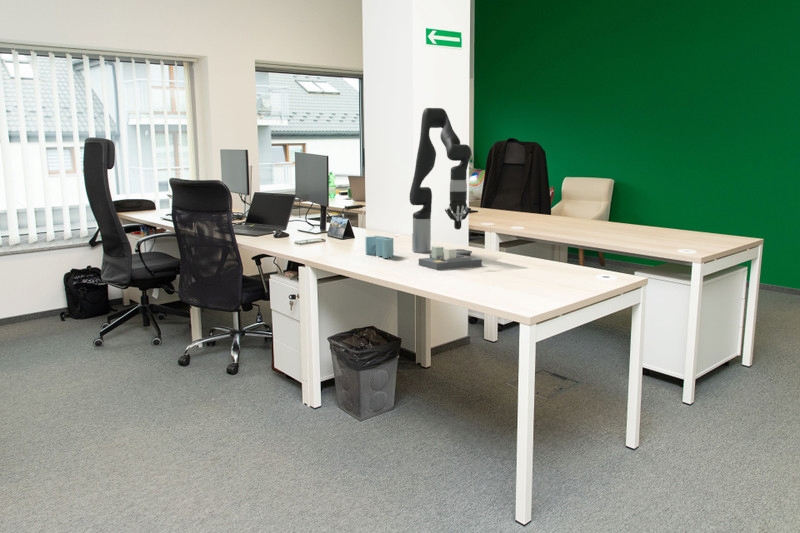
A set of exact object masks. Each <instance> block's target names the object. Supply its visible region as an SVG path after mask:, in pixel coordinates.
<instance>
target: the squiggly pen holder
mask: <svg viewBox="0 0 800 533" xmlns="http://www.w3.org/2000/svg"><path fill="white" fill-rule="evenodd" d="M364 240H365V242H364V243H365V255H366V256H368V254H369V255H375V257H376V256H383V257H382V259H383V258H388V259H390V258H389V257H392V256H393V257H394V237H389V236H388V237H387V236H380V235H373V236H365V239H364ZM393 257H392V258H393Z"/></svg>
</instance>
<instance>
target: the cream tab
mask: <svg viewBox="0 0 800 533" xmlns="http://www.w3.org/2000/svg"><path fill="white" fill-rule="evenodd" d="M456 249H457V248H456ZM456 249H455V248H452V247H451V248H450V247H448V248H444V260H446V261H447V259H449V258H456Z"/></svg>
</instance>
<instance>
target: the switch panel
mask: <svg viewBox="0 0 800 533" xmlns="http://www.w3.org/2000/svg"><path fill="white" fill-rule="evenodd" d="M431 257H432V253H431V254H429V257H425V258H424V257H423V258H418V266H420V267H425V268H428V269H431V270H433V271H434V270H435V271H441V270H443V271H445V270H452V269H453V270H454V269H463V268H464V269H465V268H473V267H482V266H483V259H482V258H478V257H477V258H476V257H473V256H470V257H469V256H464V255H460V254H457V255H456V258H449V259H447V261H446V260H444V255H443V256H436V259H435V258H431Z"/></svg>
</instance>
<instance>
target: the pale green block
mask: <svg viewBox="0 0 800 533" xmlns="http://www.w3.org/2000/svg"><path fill="white" fill-rule="evenodd" d="M444 249H445V248H444V247H443V246H441V245H437V246H431V254H432V257H431V258H435V259H436V256H443V255H444Z"/></svg>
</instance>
